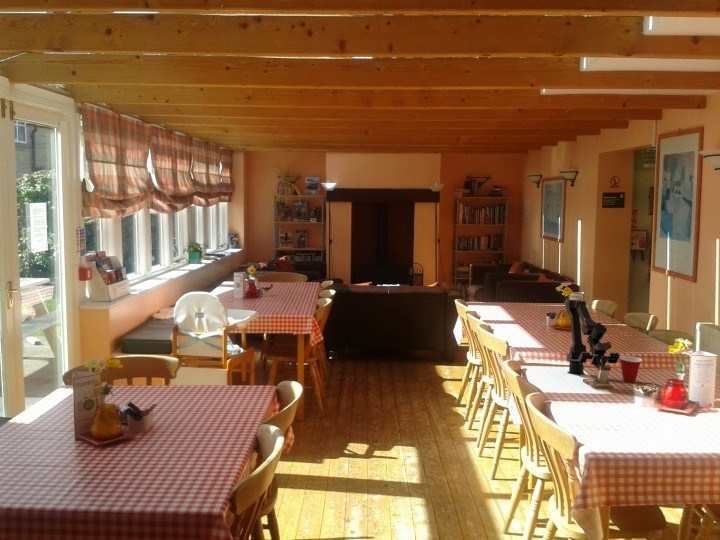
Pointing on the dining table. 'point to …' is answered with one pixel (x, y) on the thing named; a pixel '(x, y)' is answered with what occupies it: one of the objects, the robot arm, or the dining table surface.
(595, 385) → the switch base
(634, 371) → the plastic cup
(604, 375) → the switch lever
